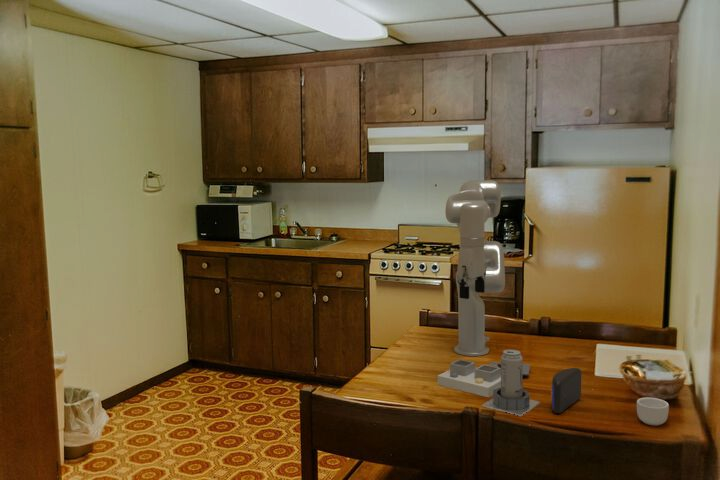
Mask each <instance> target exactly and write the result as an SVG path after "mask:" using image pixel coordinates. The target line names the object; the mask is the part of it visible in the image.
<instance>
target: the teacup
mask: <svg viewBox="0 0 720 480" xmlns="http://www.w3.org/2000/svg"><path fill="white" fill-rule="evenodd" d="M669 409H670V405H669V403H668V402H667V401H665V400H664V399H660V398H657V397H641V398H638V399H637V400H636V414H637V417H638V418H639V420H640V421H641V422H643V424H646V425H650V426H660V425H663V424H664V423H665V422H666V421H667V420H668V415H669Z"/></svg>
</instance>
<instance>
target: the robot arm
mask: <svg viewBox="0 0 720 480" xmlns="http://www.w3.org/2000/svg"><path fill="white" fill-rule="evenodd" d="M501 201H502V190H501V186H500V184H499V183H498V182H497V181H495V180H494V179H493V180H491V179H485V180H479V179H478V180H476V179H475V180H468V181H465V182H464V183H462V185H461V186H460V188H459V192H457V193H456V192H455V193H454V194H451V195H449V196H448V198H447V200H446V203H445V219H446V221H448V222H449V223H450V224H456V226H457V229H458V231H459V250H458V260H457V271H456V273H455V282H456V289H457V300H458V301H457V302H458V303H457V305H458V308H457V309H458V311H457V313H458V322H457V323H458V324H457V325H458V331H457V332H458V344H457V345H455V346H454V347H453V350H454V353H456V354H459V355H461V356H468V357H479V356H480V357H481V356H484V355H487V354H488V353H489V351H490V349H489V347H488V346H487V345H486V343H488V342H489V341H490V337H489V336H485V335H486V334H485V333H486V330H485V328H486V326H485V325H486V323H485V320H486V319H485V318H486V317H485V315H486V311H485V310H486V309H485V307H486V306H485V302H484V300H483V299H482V298H481V297H480V296H479V294H483V293H484V294H496V293H497V294H498V293H502V292H503V291H504V290H505V286H506V271H505V269H506V268H505V253H504V248H503V245H502V243H501V242H499V241H496V240H485V223H487V222H488V220H489V219H490V218H491V219H492V218H496V217H498V215H499V213H500V210H501Z"/></svg>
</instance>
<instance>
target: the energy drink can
mask: <svg viewBox="0 0 720 480" xmlns="http://www.w3.org/2000/svg"><path fill="white" fill-rule="evenodd" d="M523 359H524V358H523V356H522V354H521V351H520V350H517V349H505V350H503V352H502V354H501V356H500V362H501V396H502V397H506V398H522V389H523V382H524V381H523V377H524V376H523V364H524V362H523V361H524V360H523Z"/></svg>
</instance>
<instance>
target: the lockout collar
mask: <svg viewBox="0 0 720 480" xmlns="http://www.w3.org/2000/svg"><path fill="white" fill-rule="evenodd" d="M492 397H493V398H490V399H489V400H487V401H486V402H484V403H482V404H481V407H484V408H487V409H491V410H494V409H495V410H494V411H498V412H502V413H505V412H507V413H506V414H509V413H510V415H513V414H515V415H514V416H517V415H518V417H522V416H524V415H526V414H527V413H528V412H530V411H532V409H534V408H535V407H536V408H537V406H539V405H541V401H538V400H536V399H535V400H534V399H530V392H529V391H528V390H526V389H524V388H522V398H506V397H502V396H501V388H497V389H495V390H494V391H493V395H492ZM526 412H527V413H526ZM523 414H524V415H523Z"/></svg>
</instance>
